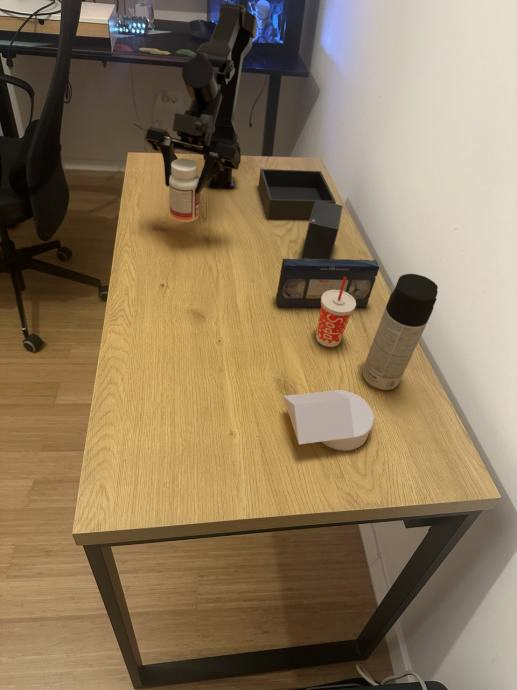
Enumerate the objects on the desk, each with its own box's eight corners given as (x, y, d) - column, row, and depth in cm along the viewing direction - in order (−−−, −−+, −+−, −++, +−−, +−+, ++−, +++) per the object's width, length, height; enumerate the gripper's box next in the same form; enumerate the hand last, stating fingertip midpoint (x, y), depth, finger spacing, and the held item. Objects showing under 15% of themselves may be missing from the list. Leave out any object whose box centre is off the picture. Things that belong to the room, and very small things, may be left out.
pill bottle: (188, 205, 109) (189, 154, 101) (205, 218, 106) (206, 167, 98) (164, 212, 106) (162, 160, 98) (180, 226, 103) (179, 174, 95)
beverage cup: (305, 339, 92) (320, 277, 82) (321, 322, 96) (337, 262, 86) (335, 354, 90) (353, 293, 80) (350, 336, 94) (369, 276, 84)
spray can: (401, 370, 89) (442, 279, 75) (396, 397, 84) (439, 305, 70) (365, 358, 90) (398, 267, 76) (358, 384, 85) (392, 292, 71)
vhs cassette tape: (276, 307, 98) (284, 265, 91) (275, 297, 100) (282, 255, 93) (367, 309, 100) (380, 268, 93) (363, 299, 102) (376, 259, 95)
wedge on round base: (295, 457, 73) (376, 446, 76) (302, 430, 69) (389, 419, 72) (280, 409, 80) (356, 400, 82) (286, 381, 75) (366, 373, 78)
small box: (328, 271, 108) (339, 228, 101) (299, 264, 109) (307, 221, 102) (334, 245, 116) (344, 204, 109) (306, 239, 116) (314, 198, 109)
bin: (258, 187, 133) (260, 168, 129) (317, 189, 135) (320, 171, 132) (267, 219, 121) (270, 199, 118) (331, 220, 124) (336, 201, 120)
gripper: (145, 83, 93) (123, 163, 94) (240, 103, 91) (217, 186, 91) (163, 112, 105) (144, 184, 105) (249, 131, 102) (228, 204, 102)
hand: (181, 189), depth 100 cm, fingers closed on pill bottle, 6 cm apart
